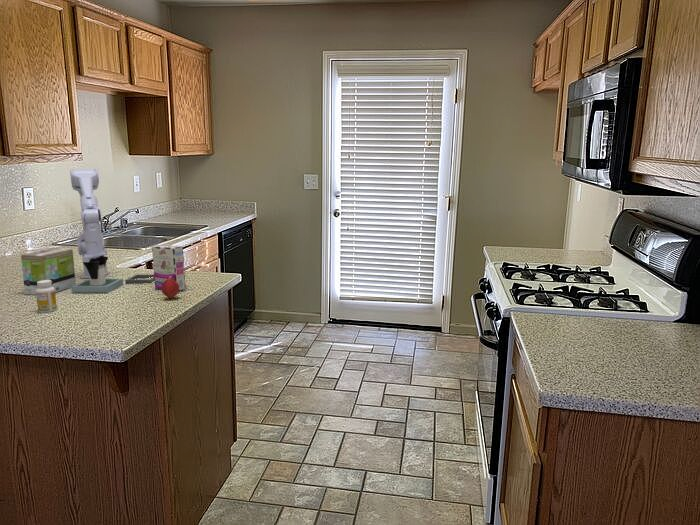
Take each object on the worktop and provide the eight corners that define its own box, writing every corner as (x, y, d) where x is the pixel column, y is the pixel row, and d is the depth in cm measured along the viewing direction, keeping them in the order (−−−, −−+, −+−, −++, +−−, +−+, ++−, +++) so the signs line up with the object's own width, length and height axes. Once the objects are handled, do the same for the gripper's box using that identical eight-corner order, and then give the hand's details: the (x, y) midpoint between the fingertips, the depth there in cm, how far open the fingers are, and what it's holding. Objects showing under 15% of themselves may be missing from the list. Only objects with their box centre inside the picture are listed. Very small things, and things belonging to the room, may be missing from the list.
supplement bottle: (52, 307, 180) (49, 278, 178) (60, 310, 176) (56, 280, 174) (35, 311, 176) (31, 281, 174) (42, 313, 172) (38, 284, 170)
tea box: (48, 296, 195) (43, 255, 192) (24, 294, 197) (19, 254, 194) (77, 286, 209) (73, 248, 206) (54, 285, 211) (50, 247, 208)
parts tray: (90, 285, 210) (89, 278, 210) (123, 285, 210) (122, 278, 209) (72, 293, 198) (71, 286, 197) (107, 293, 197) (106, 286, 197)
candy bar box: (186, 289, 202) (183, 246, 199) (176, 292, 198) (173, 248, 194) (164, 286, 207) (161, 244, 204) (154, 289, 203) (151, 246, 199)
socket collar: (136, 278, 222) (136, 274, 221) (160, 278, 221) (160, 274, 221) (125, 283, 212) (125, 280, 212) (150, 283, 212) (150, 280, 211)
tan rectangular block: (95, 282, 205) (93, 264, 204) (105, 282, 205) (104, 264, 204) (90, 285, 202) (88, 266, 200) (100, 285, 201) (98, 266, 200)
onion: (162, 301, 186) (160, 278, 184) (162, 297, 191) (161, 275, 190) (179, 300, 187) (178, 277, 186) (180, 296, 193) (178, 274, 191)
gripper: (94, 244, 193) (98, 282, 196) (113, 238, 207) (116, 273, 210) (75, 244, 193) (79, 282, 196) (95, 238, 208) (98, 273, 210)
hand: (97, 277), depth 203 cm, fingers closed on tan rectangular block, 4 cm apart
